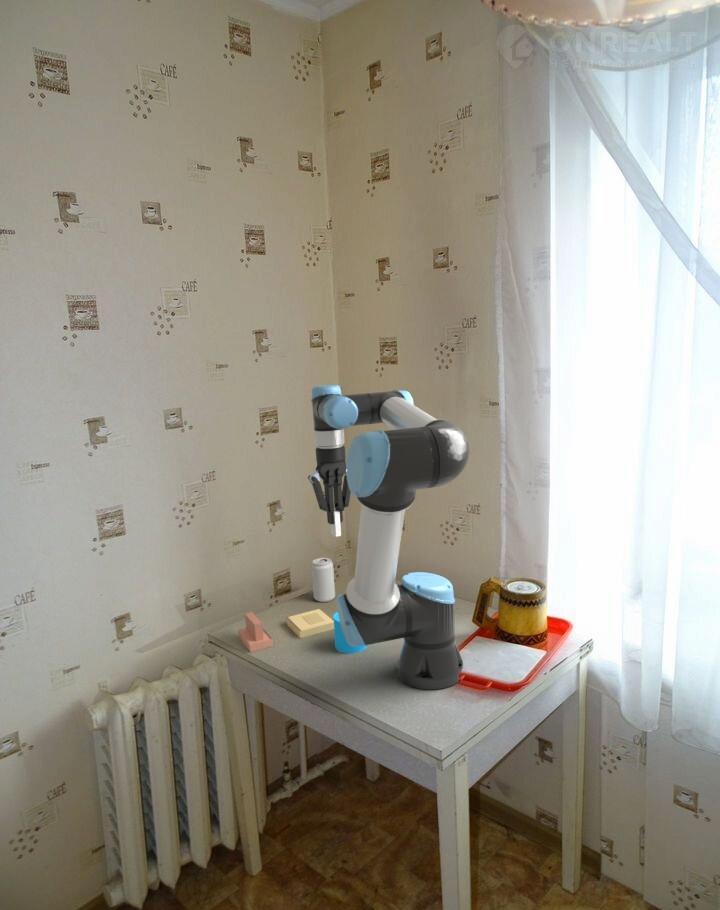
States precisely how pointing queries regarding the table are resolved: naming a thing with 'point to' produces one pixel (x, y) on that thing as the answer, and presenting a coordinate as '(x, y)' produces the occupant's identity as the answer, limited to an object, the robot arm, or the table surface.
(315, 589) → the beverage can
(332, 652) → the table surface
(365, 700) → the table surface
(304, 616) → the tan flat square block
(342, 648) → the mug
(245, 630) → the pink stepped block
